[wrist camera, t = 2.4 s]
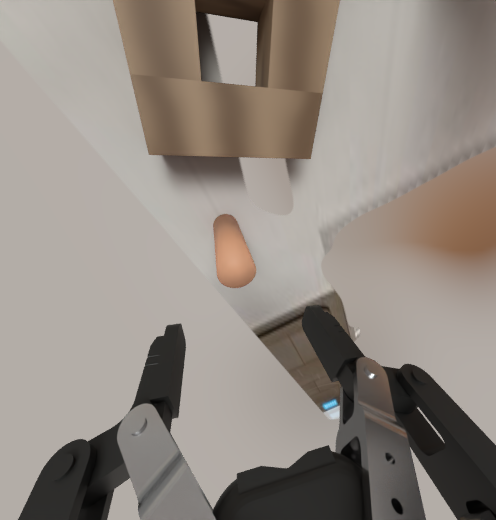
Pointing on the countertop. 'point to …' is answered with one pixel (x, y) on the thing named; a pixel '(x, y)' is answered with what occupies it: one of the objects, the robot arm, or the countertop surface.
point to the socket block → (228, 95)
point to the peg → (232, 253)
